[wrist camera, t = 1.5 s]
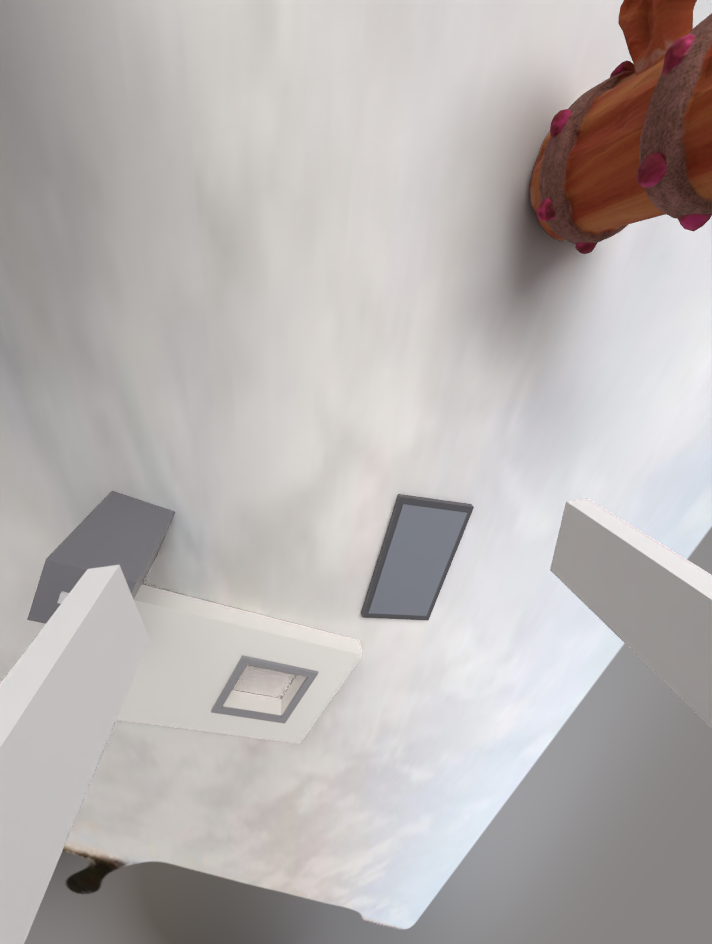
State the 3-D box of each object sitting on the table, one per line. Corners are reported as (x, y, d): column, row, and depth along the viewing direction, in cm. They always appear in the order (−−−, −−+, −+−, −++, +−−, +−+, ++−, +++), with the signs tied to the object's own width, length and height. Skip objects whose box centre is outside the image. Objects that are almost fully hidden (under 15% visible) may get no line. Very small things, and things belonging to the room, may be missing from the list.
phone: (360, 609, 40) (362, 618, 39) (396, 491, 35) (400, 497, 34) (424, 612, 42) (428, 620, 41) (468, 501, 37) (474, 507, 36)
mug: (601, 256, 29) (883, 206, 15) (507, 262, 28) (720, 215, 14) (650, -14, 22) (1203, -505, 9) (532, -19, 21) (956, -583, 8)
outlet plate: (91, 696, 38) (80, 718, 35) (138, 583, 33) (128, 601, 31) (299, 727, 46) (300, 746, 44) (359, 640, 41) (363, 657, 39)
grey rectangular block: (95, 538, 31) (25, 622, 22) (112, 491, 29) (43, 561, 21) (156, 555, 32) (112, 639, 24) (175, 511, 31) (134, 584, 23)
